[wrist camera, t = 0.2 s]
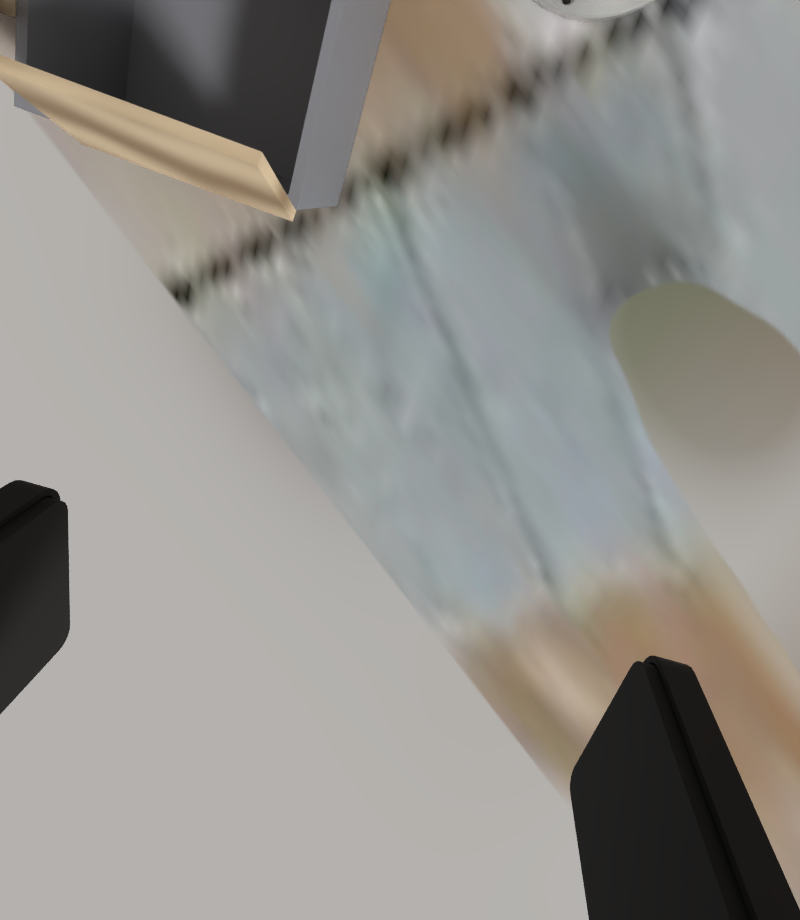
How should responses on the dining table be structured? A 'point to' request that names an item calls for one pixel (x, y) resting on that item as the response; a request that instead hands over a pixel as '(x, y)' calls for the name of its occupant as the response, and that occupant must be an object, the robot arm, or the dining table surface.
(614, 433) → the dining table surface
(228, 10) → the carton
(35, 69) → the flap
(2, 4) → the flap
